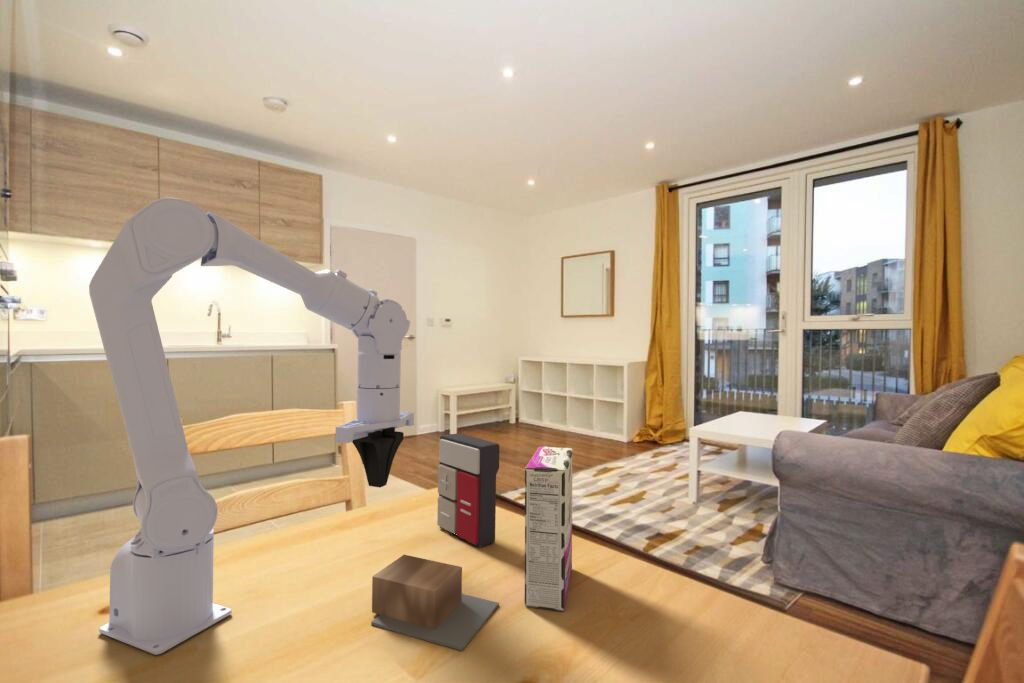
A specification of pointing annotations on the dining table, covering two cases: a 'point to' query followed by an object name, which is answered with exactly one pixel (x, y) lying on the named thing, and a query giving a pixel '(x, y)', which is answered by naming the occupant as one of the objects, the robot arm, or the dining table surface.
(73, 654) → the dining table surface
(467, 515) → the calculator
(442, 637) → the mat
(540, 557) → the candy bar box
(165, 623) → the robot arm
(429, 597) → the walnut block
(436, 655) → the dining table surface
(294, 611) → the dining table surface
